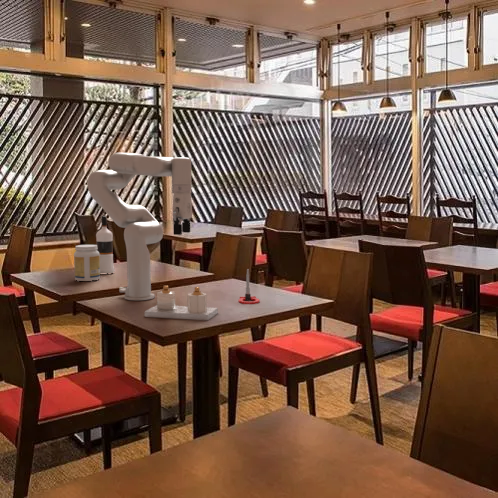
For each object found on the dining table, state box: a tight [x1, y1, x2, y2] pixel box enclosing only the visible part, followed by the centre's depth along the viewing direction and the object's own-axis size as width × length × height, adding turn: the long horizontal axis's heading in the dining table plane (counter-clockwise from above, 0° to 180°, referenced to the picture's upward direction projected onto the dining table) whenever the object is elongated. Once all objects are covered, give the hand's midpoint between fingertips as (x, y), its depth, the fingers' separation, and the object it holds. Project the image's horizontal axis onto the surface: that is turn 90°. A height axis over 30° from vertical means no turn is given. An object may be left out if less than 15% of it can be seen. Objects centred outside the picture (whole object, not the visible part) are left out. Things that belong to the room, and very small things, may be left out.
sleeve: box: [187, 292, 208, 312], centre depth 230 cm, size 7×7×6 cm
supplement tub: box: [73, 244, 101, 282], centre depth 307 cm, size 12×12×17 cm
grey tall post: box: [238, 268, 260, 305], centre depth 255 cm, size 8×13×9 cm
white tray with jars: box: [144, 285, 219, 321], centre depth 231 cm, size 24×12×10 cm, turn 76°
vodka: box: [95, 215, 115, 274], centre depth 327 cm, size 9×9×30 cm
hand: (182, 233), depth 247 cm, fingers open, 9 cm apart
